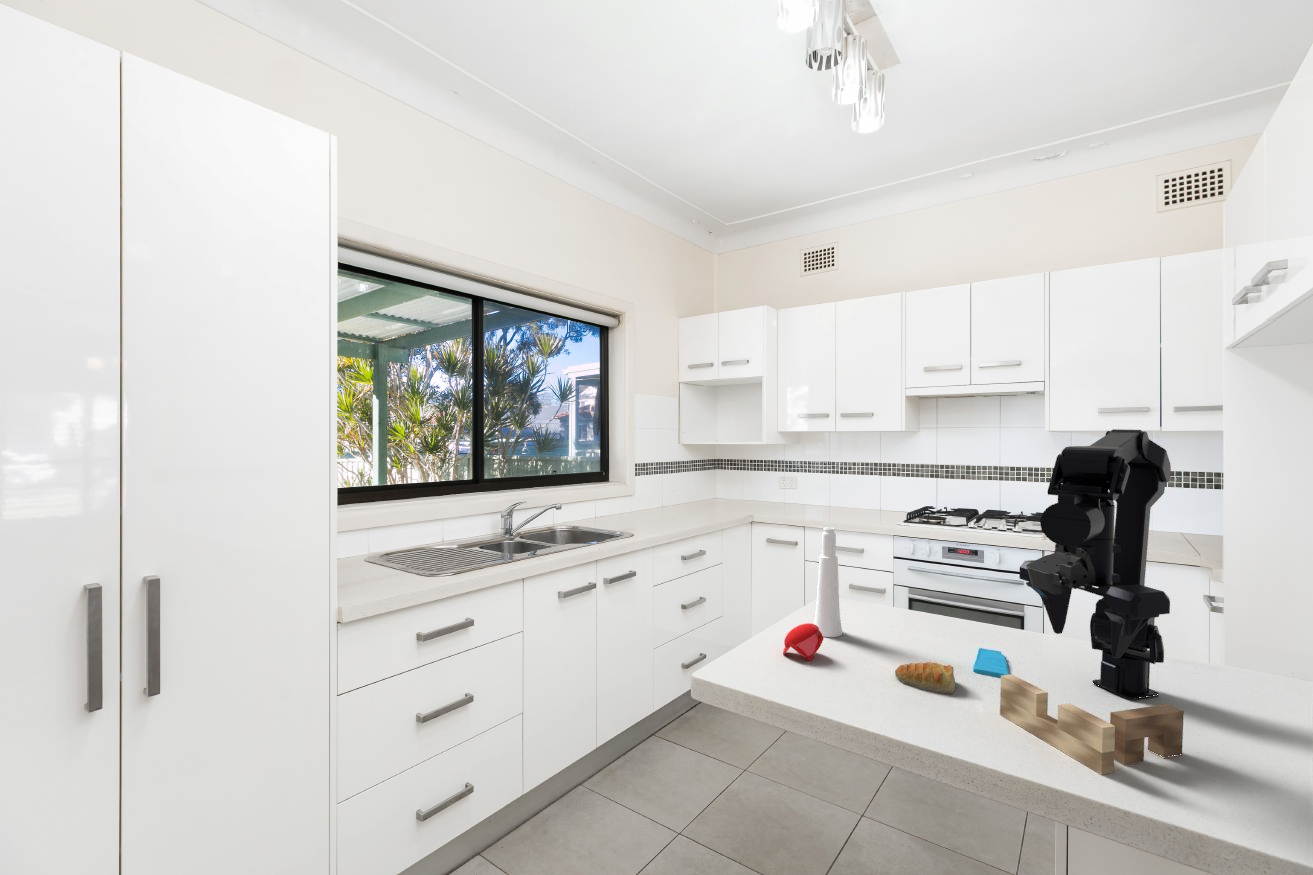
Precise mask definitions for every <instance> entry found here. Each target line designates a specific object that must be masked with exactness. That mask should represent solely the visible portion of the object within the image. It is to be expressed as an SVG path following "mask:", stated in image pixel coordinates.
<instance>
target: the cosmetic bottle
mask: <svg viewBox="0 0 1313 875" xmlns="http://www.w3.org/2000/svg"><path fill="white" fill-rule="evenodd" d="M835 530H836V529H835V527H831V526H830V527H829V526H828V527H827V526H826V527H823V532H822V533H821V554H820V555H819V559H818V560H819V561H818V562H819V563H818V573H817V574H818V575H817V576H818V577H817V588H816V589H817V591H816V592H817V593H816V603H815V613H814V614H815V615H814V618H813V619H814V621H813V624H815V625H817V626H818V627H819V630H820V632H821V633H822V636H823V638H839V637H841V636H842V635H843V627H842V620H841V609H840V593H839V591H840V588H839V586H840V585H839V558H838V556H837V554H836V550H837V545H836V543H837V542H836V540H837V534H836V532H835Z"/></svg>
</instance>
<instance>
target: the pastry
mask: <svg viewBox="0 0 1313 875" xmlns="http://www.w3.org/2000/svg"><path fill="white" fill-rule="evenodd" d="M954 671H955V670H954V666H952V665H951V664H947V665H945V664H944V665H943V664H940V663H938V662H932V661H926V662H916V663H915V662H912V663H908V664H900V665H899V666H898V667H897V668H896V669H895V670H894V674H895V677H896V678H897V680H898V681H900V682H901V683H903V684H904V685H905V684H906V685H910V686H912V687H915V688H917V689H920V690H927V691H931V692H934V693H935V692H936V693H941V694H948V695H951V694H954V692H955V689H956V688H955V684H956V679H955V675H954Z"/></svg>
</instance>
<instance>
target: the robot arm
mask: <svg viewBox="0 0 1313 875" xmlns="http://www.w3.org/2000/svg"><path fill="white" fill-rule="evenodd" d="M1171 468H1172V466H1171V462H1170V459H1169V454H1168V451H1167V450H1166V449H1165V448H1164V447H1162V446H1161V445H1159V444H1158V443H1156V442H1154V441H1153V440H1152V439H1150V437H1149V435H1148V432H1147V431H1143V430H1141V429H1119V428H1118V429H1114V428H1113V429H1111V430H1107V431H1106V433H1105V434H1104V436H1102V437H1101V438H1100V439H1098V440H1096V441H1095V442H1093V443H1092V444H1090V445H1071V446H1070V445H1069V446H1066V447H1064V448H1063V449H1062V450H1061V453H1059V454H1058V455H1057V456H1056V460H1055V462H1054V466H1053V470H1052V472H1051V473H1052V474H1051V476H1050V477H1051V478H1050V482H1049V483H1048V484H1049V485H1048V489H1047V495H1048V496H1049V495H1050V496H1057V502H1056V503H1053V504H1051V505H1049V506H1048V507H1046V508H1045V510H1044V511H1043V513H1042V515H1041V516H1040V521H1039V523H1040V528H1041V530H1042V533H1043V534H1044V535H1045V537H1046V538H1047V539H1049V541H1051V542H1052V543H1055V545H1054V551H1053V553H1050V554H1046V555H1044V556H1042V557H1039V558H1037V559H1033V560H1032V559H1031V560H1030V559H1029V560H1024V561H1023V562H1022V563H1021V565H1020V566H1019V579H1020V580H1022V581H1026V582H1025V584H1026V586H1027V587H1029V588H1030V589H1033V591H1035V593H1037V594H1038V595H1039V597H1040V599H1041V600H1042V603H1043V606H1044V608H1045V611H1046V613H1047V614H1046V615H1047V616H1048V619H1049V622H1050V624H1051V627H1052V630H1053V632H1054V634H1056V635H1059V634H1062V633H1063V631H1064V629H1065V626H1066V621H1067V616H1068V611H1069V608H1070V607H1069V606H1070V605H1069V604H1070V600H1071V596H1072V591H1073V589H1074V590H1076V589H1078V590H1081V591H1084V592H1087V593H1091V594H1094V595H1096V596H1099V597H1100V596H1101V597H1102V598H1100V599H1098V600H1097V601H1096V602H1095V611H1094V612H1093V613H1092V615H1091V617H1090V621H1089V622H1090V623H1089V630H1090V631H1089V633H1090V642H1091V649H1092V650H1095V651H1096V650H1098V651H1101V661H1100V674H1099V675H1100V677H1099V678H1100V679H1099V678H1098V679H1092V682H1093V683H1094V684H1093V683H1092V682H1091V683H1092V684H1093V685H1095V684H1096V685H1095V686H1097V685H1099V686H1101V687H1100V688H1102V687H1103V688H1102V689H1104V688H1105V689H1104V690H1106V689H1107V690H1106V691H1108V690H1109V691H1108V692H1110V691H1111V693H1113V694H1115V695H1117V694H1118V696H1119V695H1120V697H1122V696H1123V697H1122V698H1124V697H1125V698H1124V699H1126V698H1127V699H1126V700H1129V699H1133V700H1135V699H1134V698H1139V697H1146V696H1153V695H1157V694H1159V695H1160V692H1158V691H1156V690H1154V689H1151V688H1150V672H1151V670H1150V666H1151V664H1152V665H1155V664H1157V663H1162V664H1164V663H1165V662H1164V661H1165V648H1164V642H1163V636H1162V635H1161V633H1160V631H1159V627H1158V626H1157V625H1155V620H1156V618H1159V617H1160V615H1170V613H1171V612H1170V610H1171V601H1170V600H1171V599H1170V597H1169V596H1168V594H1166V592H1165V591H1163V590H1159V589H1156V588H1153V587H1148V586H1145V582H1146V580H1145V579H1146V570H1147V569H1146V568H1147V559H1148V557H1147V556H1148V544H1149V533H1150V530H1149V529H1150V520H1151V519H1150V518H1151V517H1150V516H1151V508H1152V507H1153V506H1154V505H1155V503H1157V502H1158V500H1159V499H1161V497H1162V496H1163V495H1164V494H1165V488H1166V483H1169V482H1170V480H1171V474H1172V473H1171V472H1172V469H1171ZM1114 501H1115V502H1114ZM1115 503H1116V506H1115ZM1115 507H1116V508H1115ZM1115 510H1116V512H1115ZM1099 686H1098V687H1099Z"/></svg>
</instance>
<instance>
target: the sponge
mask: <svg viewBox="0 0 1313 875" xmlns="http://www.w3.org/2000/svg"><path fill="white" fill-rule="evenodd" d="M977 651H978V652H977V653H978V654H977V653H976V659H975V662H974V664H973V667H972V670H973V671H972V672H973V673H974V672H975V674H979V673H981V674H980V675H984V674H986V675H985V676H988V675H990V677H993V676H995V677H994V678H999V679H1001V675H1010V671H1009V668H1010V667H1009V665H1008V663H1007V657H1006V656H1005V654H1003V653H1002V651H999V650H995V649H990V648H989V649H988V648H983V647H979V648H978V650H977Z"/></svg>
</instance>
